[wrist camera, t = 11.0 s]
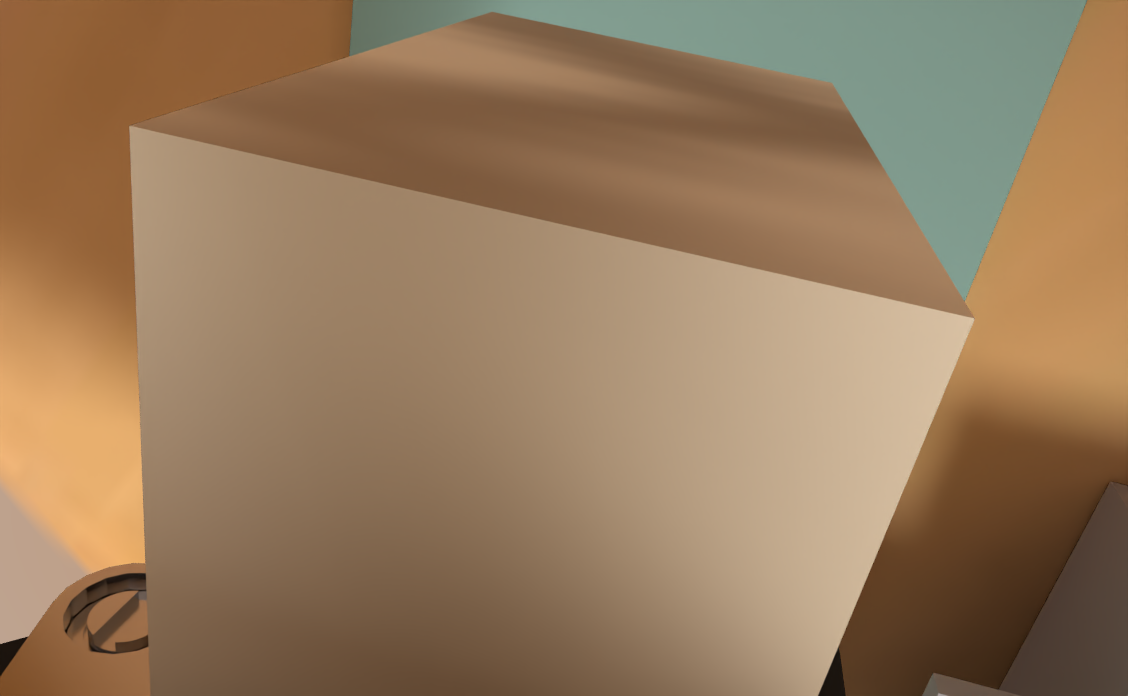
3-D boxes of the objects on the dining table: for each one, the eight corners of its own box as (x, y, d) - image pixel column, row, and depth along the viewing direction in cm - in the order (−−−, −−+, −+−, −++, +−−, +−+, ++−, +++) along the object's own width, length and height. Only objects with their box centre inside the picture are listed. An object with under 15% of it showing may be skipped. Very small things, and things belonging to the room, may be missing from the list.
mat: (1160, -198, 13) (1169, -201, 13) (780, 742, 22) (781, 752, 22) (383, -336, 14) (376, -342, 14) (315, 614, 23) (310, 622, 23)
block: (831, 83, 10) (975, 318, 4) (619, 790, 16) (536, 1372, 9) (492, 11, 11) (128, 125, 4) (397, 727, 16) (170, 1247, 10)
